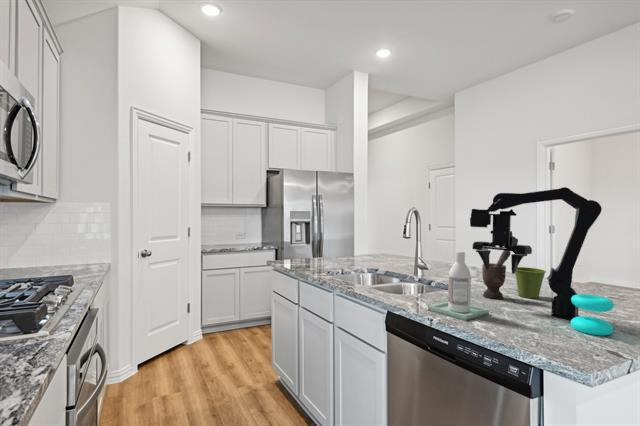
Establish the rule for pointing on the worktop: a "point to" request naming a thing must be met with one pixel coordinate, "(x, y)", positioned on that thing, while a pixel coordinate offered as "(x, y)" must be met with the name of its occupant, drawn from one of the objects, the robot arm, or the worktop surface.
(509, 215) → the robot arm
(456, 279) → the bath foam
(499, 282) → the mortar and pestle
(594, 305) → the donuts
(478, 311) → the tray
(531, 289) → the plant pot
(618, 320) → the worktop surface
